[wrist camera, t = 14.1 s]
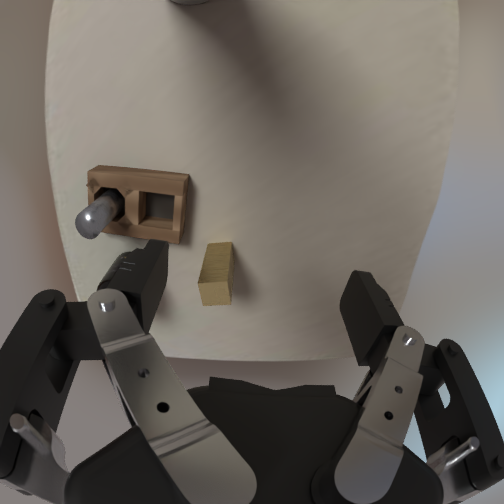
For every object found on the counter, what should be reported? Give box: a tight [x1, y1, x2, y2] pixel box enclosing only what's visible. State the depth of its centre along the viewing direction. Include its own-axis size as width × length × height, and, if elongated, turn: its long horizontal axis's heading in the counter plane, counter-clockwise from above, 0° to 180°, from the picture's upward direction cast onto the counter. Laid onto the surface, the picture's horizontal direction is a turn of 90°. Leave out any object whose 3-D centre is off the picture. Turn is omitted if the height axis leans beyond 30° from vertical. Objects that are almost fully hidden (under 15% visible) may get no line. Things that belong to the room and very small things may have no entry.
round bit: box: [75, 188, 125, 239], centre depth 35 cm, size 4×4×10 cm
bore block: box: [86, 165, 189, 244], centre depth 38 cm, size 9×14×4 cm, turn 80°
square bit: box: [198, 242, 234, 306], centre depth 40 cm, size 4×4×10 cm
